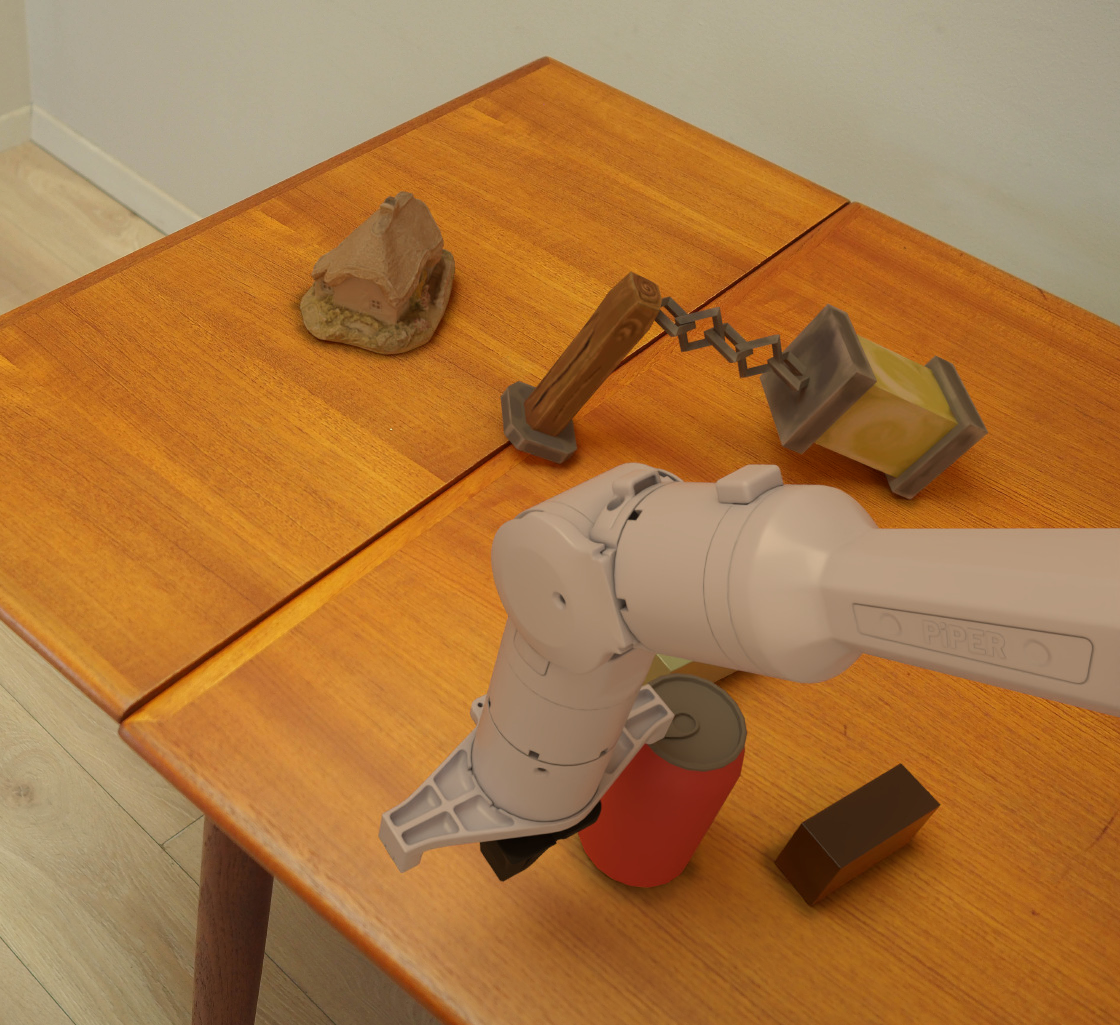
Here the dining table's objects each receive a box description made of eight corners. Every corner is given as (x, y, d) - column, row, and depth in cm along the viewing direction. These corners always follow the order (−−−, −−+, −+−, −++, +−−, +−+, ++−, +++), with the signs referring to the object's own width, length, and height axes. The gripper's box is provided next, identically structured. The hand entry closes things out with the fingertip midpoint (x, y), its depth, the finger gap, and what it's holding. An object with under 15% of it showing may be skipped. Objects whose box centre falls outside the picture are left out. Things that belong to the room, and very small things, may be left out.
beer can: (553, 806, 66) (600, 685, 57) (650, 770, 68) (708, 648, 60) (612, 910, 62) (672, 796, 54) (712, 867, 65) (785, 752, 56)
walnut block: (907, 843, 67) (941, 804, 64) (810, 906, 64) (840, 868, 61) (870, 802, 69) (901, 762, 66) (773, 861, 65) (801, 822, 62)
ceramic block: (746, 666, 75) (769, 623, 72) (652, 714, 71) (671, 671, 68) (716, 633, 76) (737, 589, 73) (622, 678, 73) (640, 634, 70)
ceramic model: (406, 375, 91) (420, 267, 83) (279, 326, 93) (282, 218, 86) (473, 284, 100) (492, 181, 93) (357, 243, 102) (366, 139, 95)
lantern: (803, 503, 99) (499, 381, 88) (953, 363, 88) (626, 206, 78) (826, 571, 94) (505, 451, 83) (988, 432, 83) (643, 274, 72)
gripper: (632, 578, 53) (571, 739, 63) (353, 699, 47) (333, 857, 56) (734, 694, 49) (652, 846, 59) (446, 842, 43) (407, 985, 53)
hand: (501, 859), depth 57 cm, fingers closed
